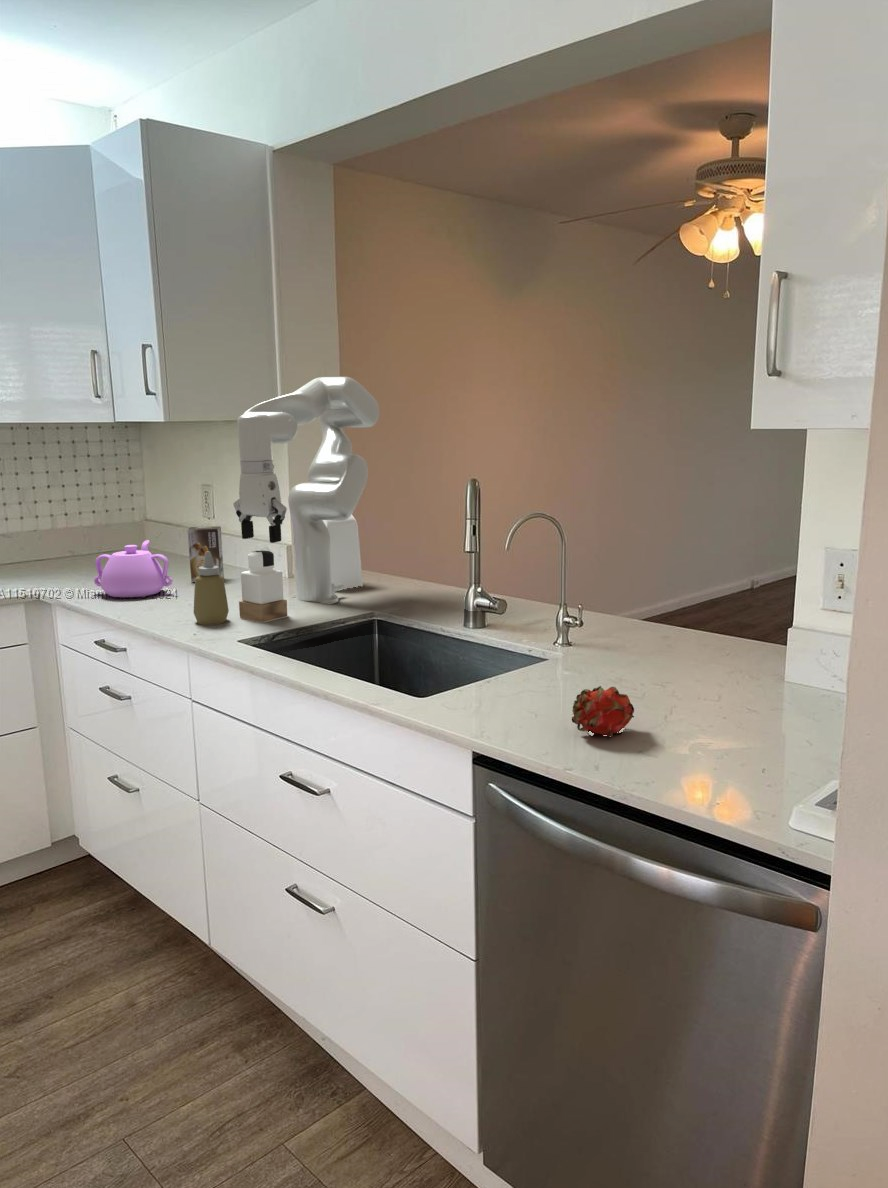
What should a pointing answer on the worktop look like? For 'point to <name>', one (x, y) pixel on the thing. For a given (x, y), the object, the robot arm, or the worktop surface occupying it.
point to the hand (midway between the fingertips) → (261, 540)
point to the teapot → (132, 572)
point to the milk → (345, 552)
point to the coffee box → (204, 548)
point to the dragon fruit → (602, 711)
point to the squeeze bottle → (210, 594)
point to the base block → (263, 610)
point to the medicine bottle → (261, 579)
